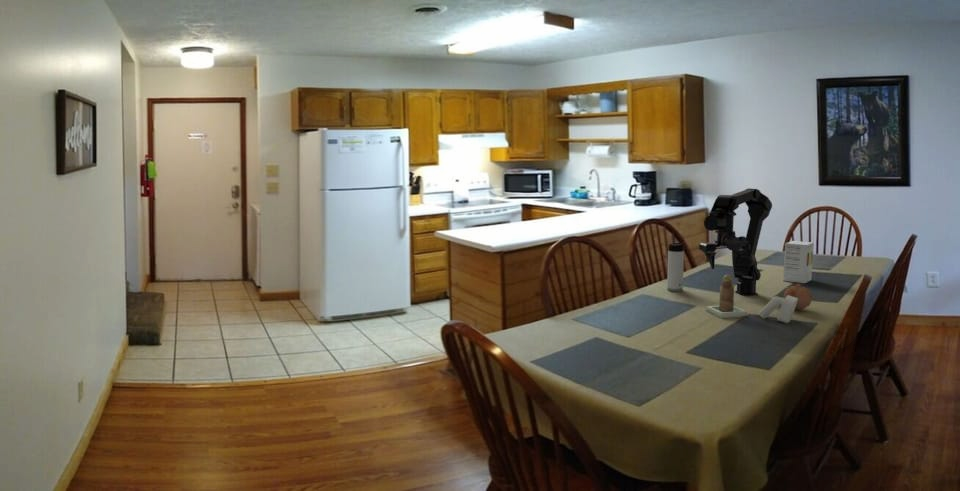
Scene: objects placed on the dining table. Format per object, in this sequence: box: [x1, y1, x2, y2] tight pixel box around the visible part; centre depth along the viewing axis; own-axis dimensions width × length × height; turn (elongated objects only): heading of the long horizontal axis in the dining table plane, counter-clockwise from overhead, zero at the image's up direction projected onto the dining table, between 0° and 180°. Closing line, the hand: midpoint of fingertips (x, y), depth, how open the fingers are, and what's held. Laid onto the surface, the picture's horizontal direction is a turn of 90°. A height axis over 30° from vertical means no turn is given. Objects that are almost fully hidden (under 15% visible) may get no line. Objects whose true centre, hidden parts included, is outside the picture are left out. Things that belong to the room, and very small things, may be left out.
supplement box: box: [782, 240, 815, 284], centre depth 299 cm, size 10×9×17 cm
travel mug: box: [666, 241, 686, 292], centre depth 285 cm, size 6×7×20 cm
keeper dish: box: [705, 305, 748, 319], centre depth 248 cm, size 10×10×2 cm
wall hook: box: [758, 295, 798, 324], centre depth 239 cm, size 8×10×10 cm
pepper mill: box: [718, 274, 735, 312], centre depth 247 cm, size 5×5×14 cm
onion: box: [783, 282, 813, 311], centre depth 251 cm, size 10×9×10 cm
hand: (723, 268), depth 265 cm, fingers open, 9 cm apart
